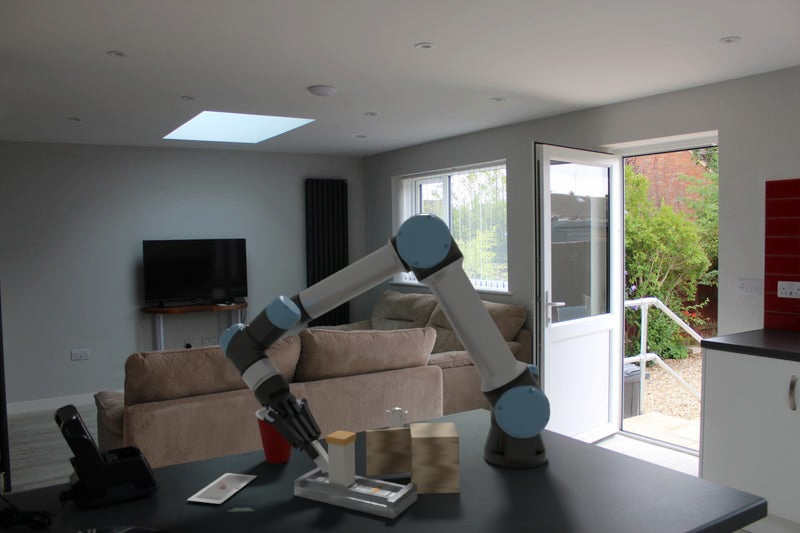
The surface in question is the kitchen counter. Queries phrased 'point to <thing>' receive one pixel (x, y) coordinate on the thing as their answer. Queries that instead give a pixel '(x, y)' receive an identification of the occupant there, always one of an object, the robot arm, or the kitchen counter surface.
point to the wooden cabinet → (417, 455)
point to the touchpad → (222, 488)
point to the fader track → (357, 493)
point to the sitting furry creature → (396, 417)
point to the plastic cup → (272, 441)
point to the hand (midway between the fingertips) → (328, 468)
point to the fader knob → (341, 457)
